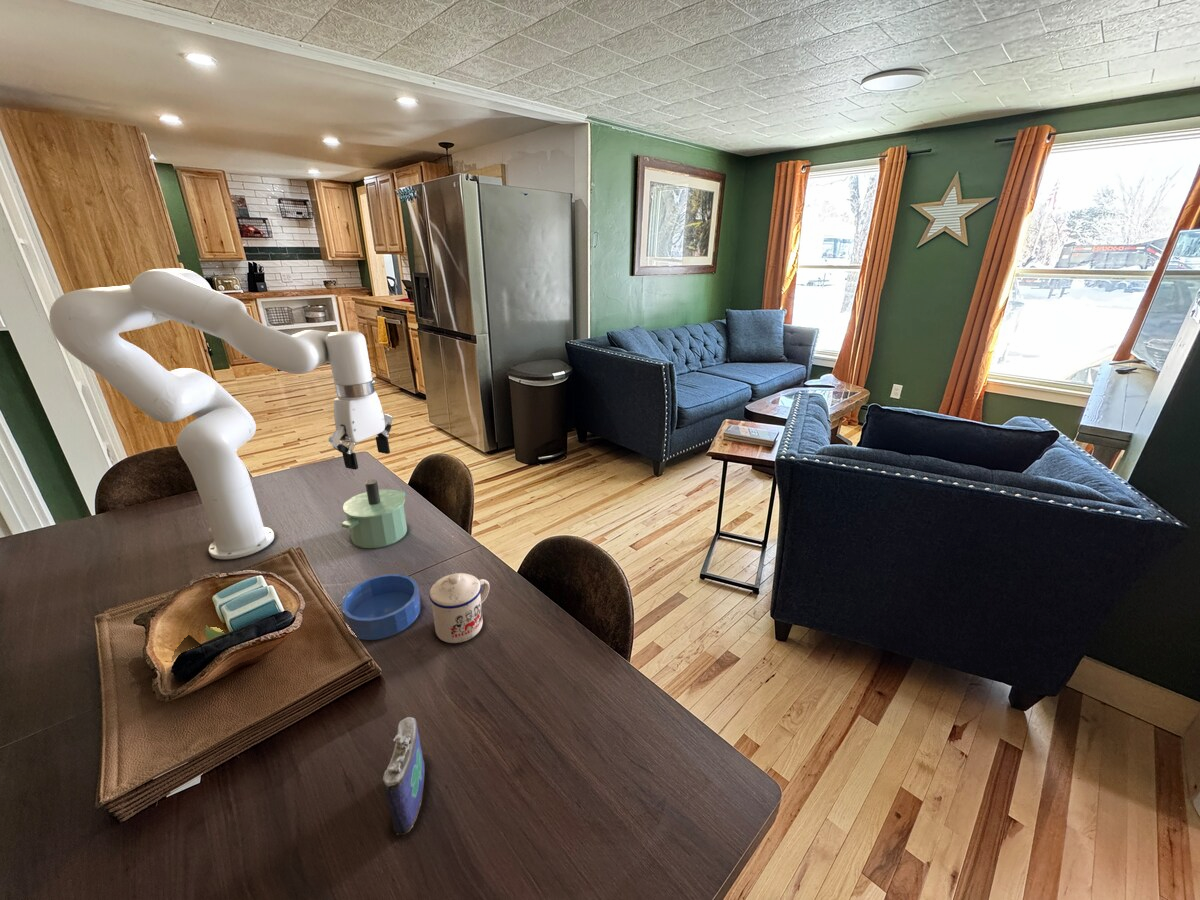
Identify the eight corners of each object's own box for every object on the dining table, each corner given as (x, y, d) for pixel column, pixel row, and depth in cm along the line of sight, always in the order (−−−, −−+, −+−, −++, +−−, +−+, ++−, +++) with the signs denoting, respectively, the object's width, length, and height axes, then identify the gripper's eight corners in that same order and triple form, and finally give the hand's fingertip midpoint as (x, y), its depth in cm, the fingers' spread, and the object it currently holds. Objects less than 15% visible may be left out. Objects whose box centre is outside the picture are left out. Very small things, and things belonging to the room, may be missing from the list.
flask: (407, 761, 65) (397, 706, 61) (429, 759, 66) (421, 704, 62) (390, 837, 57) (376, 779, 53) (415, 833, 57) (404, 775, 53)
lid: (329, 513, 111) (324, 488, 109) (374, 489, 123) (370, 466, 121) (375, 525, 107) (371, 500, 104) (417, 499, 119) (414, 475, 116)
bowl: (329, 628, 88) (324, 608, 87) (382, 585, 100) (379, 567, 98) (385, 648, 84) (382, 628, 82) (434, 601, 96) (432, 583, 94)
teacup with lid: (454, 653, 83) (448, 600, 79) (424, 629, 88) (416, 578, 84) (505, 615, 92) (502, 566, 88) (475, 596, 97) (470, 548, 93)
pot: (330, 547, 112) (323, 516, 109) (386, 512, 128) (382, 484, 125) (372, 559, 108) (366, 527, 105) (424, 521, 124) (421, 493, 121)
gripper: (372, 378, 113) (383, 445, 119) (307, 397, 98) (325, 472, 104) (397, 382, 110) (407, 449, 117) (335, 401, 95) (351, 477, 102)
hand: (368, 460), depth 110 cm, fingers open, 9 cm apart
